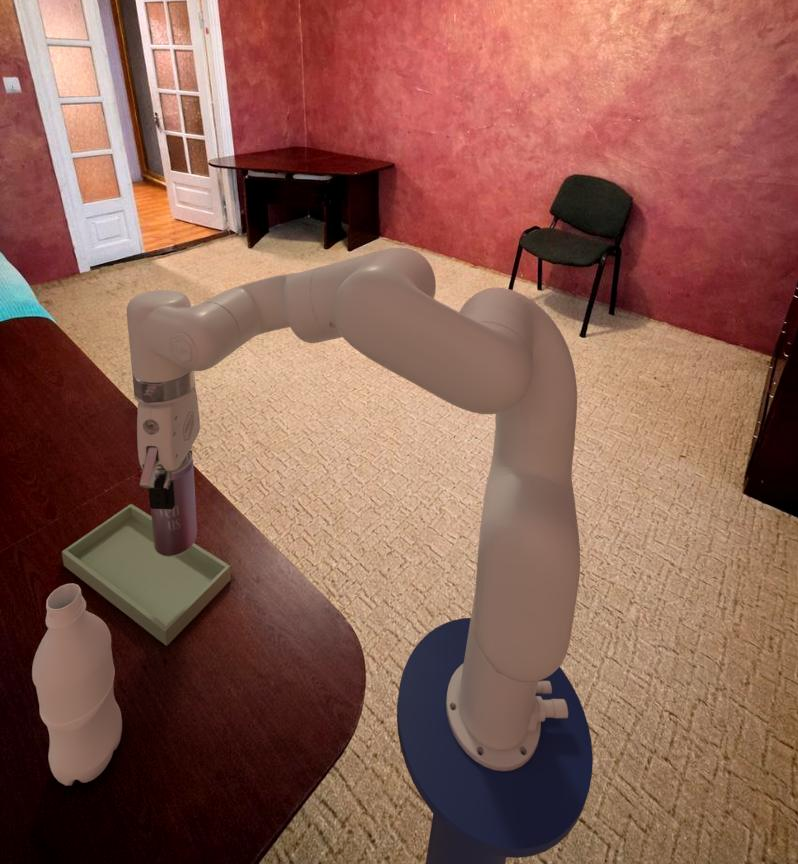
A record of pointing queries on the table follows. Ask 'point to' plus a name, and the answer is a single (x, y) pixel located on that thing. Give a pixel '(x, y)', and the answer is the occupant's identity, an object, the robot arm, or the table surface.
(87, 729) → the water bottle
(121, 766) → the table surface
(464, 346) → the robot arm
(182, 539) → the beverage can
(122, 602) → the tray
